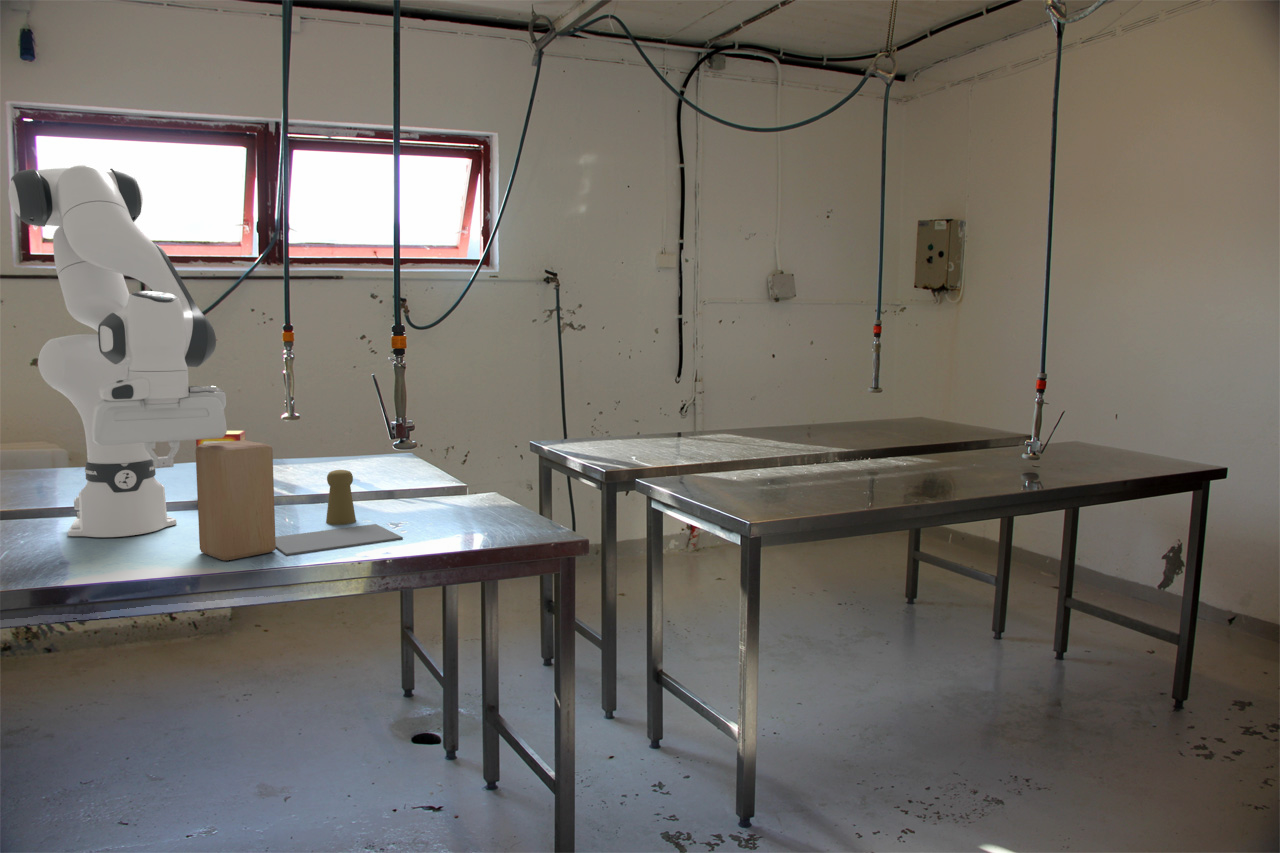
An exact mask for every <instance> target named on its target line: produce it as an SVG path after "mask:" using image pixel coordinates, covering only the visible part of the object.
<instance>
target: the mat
mask: <svg viewBox="0 0 1280 853" xmlns="http://www.w3.org/2000/svg"><path fill="white" fill-rule="evenodd" d="M401 540H404V537H403V536H402V535H400V534H397V533H396V532H393V531H391V530H389V529H387V528H385V527H383V526H381V525H379V524H377V523H373V524H366V525H356V526H349V527H341V528H334V529H325V530H319V531H311V532H303V533H295V534H287V535H279V536H275V541H276V548H275V550H276V549H277V551H279V552H281V553H282V554H283V555H285V556H287V557H288V556H293V555H300V554H308V553H313V552H314V553H316V552H323V551H330V550H335V549H343V548H349V547H355V546H364V545H365V546H366V545H371V544H377V543H385V542H391V541H401Z"/></svg>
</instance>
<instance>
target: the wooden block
mask: <svg viewBox="0 0 1280 853" xmlns="http://www.w3.org/2000/svg"><path fill="white" fill-rule="evenodd" d="M195 468H196V491H197V492H196V493H197V495H196V496H197V514H198V515H197V517H198V537H199V538H198V541H199V550H200V553H202V554H205V555H207V556H210V557H213V558H215V559H219V560H220V561H221V560H222V561H223V562H229V560H230V561H234V560H239V559H245V558H250V557H255V556H259V555H265V554H270V553H272V552H274V551H276V541H275V537H276V521H275V520H276V513H275V488H274V487H275V485H274V484H275V483H274V480H275V479H274V454H273V447H272V445H270V444H266V443H262V442H255V441H251V440H246V439H245V440H241V441H230V442H219V443H208V444H200V445H198V446H195Z"/></svg>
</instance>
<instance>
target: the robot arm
mask: <svg viewBox="0 0 1280 853" xmlns="http://www.w3.org/2000/svg"><path fill="white" fill-rule="evenodd" d="M8 200H9V204H10V205H11V208H12V210H13V211H14V212H15V214H16V215H17V217H18V219H19V220H21V221H22V222H23V223H25V225H30V226H36V227H37V226H38V227H46V226H52V227H53V226H54V227H57V228H56V229H55V231H54V233H53V238H52V241H53V242H52V243H53V245H52V246H53V259H54V265H55V269H56V274H57V277H58V282H59V285H60V286H59V287H60V288H61V289H60V290H61V292H62V296H63V300H64V304H65V308H66V310H67V311H68V313H69V315H70V316H71V317H72V318H73V319H74V320H75V321H77V322H79V323H80V324H82V325H85V326H87V327H89V328H91V329H93V330H94V331H96V332H97V334H96V333H95V334H91V333H90V334H82V333H81V334H79V333H78V334H72V335H65V336H59V337H56V338H55V337H54V338H51V339H49V340H47V341H46V342H45V343H44V345H43V346H42V348H41V349H40V352H39V355H38V359H37V366H38V370H39V374H40V375H41V378H42V379H43V380H44V381H45V383H46V384H47V385H48V386H49V387H50V388H52V389H54V390H56V391H57V392H59V393H61V394H62V395H63V396H64V397H66V399H68V400H69V401H70V402H71V403H72V405H73V406H74V407H75V409H76V410H77V413H78V415H80V419H81V422H82V424H83V429H84V434H85V435H84V436H85V444H86V452H87V453H86V456H87V461H86V462H85V465H84V466H85V467H84V473H85V480H86V481H87V482H86V484H85V486H84V487H83V488H82V489H81V490H80V492H79V493H78V496H76V497H75V498H73V507H74V508H73V509H74V510H75V511H77V512H76V514H75V515H76V516H75V517H76V518H75V519H74V521H73V523H72V524H71V526H70V527H69V529H68V532H67V536H68V537H88V538H89V537H90V538H119V537H130V536H135V535H143V534H149V533H152V532H157V531H160V530H162V529H164V528H166V527H171V526H174V525H177V519H176V518H174V517H171V516H168V514H167V513H168V512H167V511H168V510H167V502H166V500H167V499H166V492H165V486H164V485H163V484H162V483H160V482H159V481H158V480H157V478H155V476H156V474H157V473H156V469H163V468H164V469H166V468H169V469H170V468H174V466H175V465H174V463H175V462H174V458H175V456H176V454H177V453H178V451H179V449H180V447H181V441H182V442H183V441H196V440H199V439H216V438H223V437H224V436H225V434H226V433H227V431H228V428H227V420H226V415H225V411H224V410H225V408H226V406H227V395H226V393H225V391H224V390H222V388H219V387H217V386H216V385H215V386H214V385H208V386H189V369H188V368H198V367H200V366H202V365H203V364H204V363H206V362H207V361H208V360H209V359H210V357H212V355H213V354H214V352H215V350H216V347H217V339H216V338H217V337H216V333H215V332H216V331H215V329H214V326H213V325H212V323H211V322H210V321H209V320H208V318H207V317H206V316H205V315H204V313H203V312H202V311H201V309H200V308H199V307H198V306H197V304H196V303H195V301H194V298H193V297H192V294H190V292H189V289H188V288H187V287H186V285H185V283H184V282H183V280H182V278H181V276H180V274H179V273H178V271H177V269H176V268H175V267H174V264H173V263H172V261H171V260H170V258H169V256H168V255H167V253H166V252H165V250H164V249H163V248H162V247H161V246H160V245H158V243H155V241H152V240H151V239H149V237H147V236H146V235H145V234H144V233H143V232H142V230H140V229H139V227H138V226H137V224H135V222H136V220H137V219H138V218H139V217H140V216H141V213H142V206H143V194H142V190H141V187H140V186H139V184H138V181H137V178H136V177H134V176H133V175H132V173H130V172H129V171H126V170H122V169H117V168H110V169H105V168H99V167H96V166H92V165H86V164H85V165H84V164H81V165H80V164H79V165H74V166H71V167H69V168H68V167H63V168H62V167H60V168H46V169H37V170H36V169H34V168H30V169H24V170H19V171H17V172H15V173H14V175H13V176H12V177H11V178H10V183H9V186H8ZM124 276H127V277H130V278H133V279H135V280H138V281H139V282H141V283H143V284H145V285H146V286H148V288H150V290H139V291H135V292H132V293H130V292H129V289H128V286H127V283H126V281H125V277H124ZM162 442H163V443H164V442H168V446H169V447H170V448H171V449H170V450H169V452H168V454H167V456H166V455H165V456H158V455H157V454H156V453H155V451H154V450H155V449H156V448H157V446H156V444H157V443H162ZM153 449H154V450H153Z"/></svg>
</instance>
